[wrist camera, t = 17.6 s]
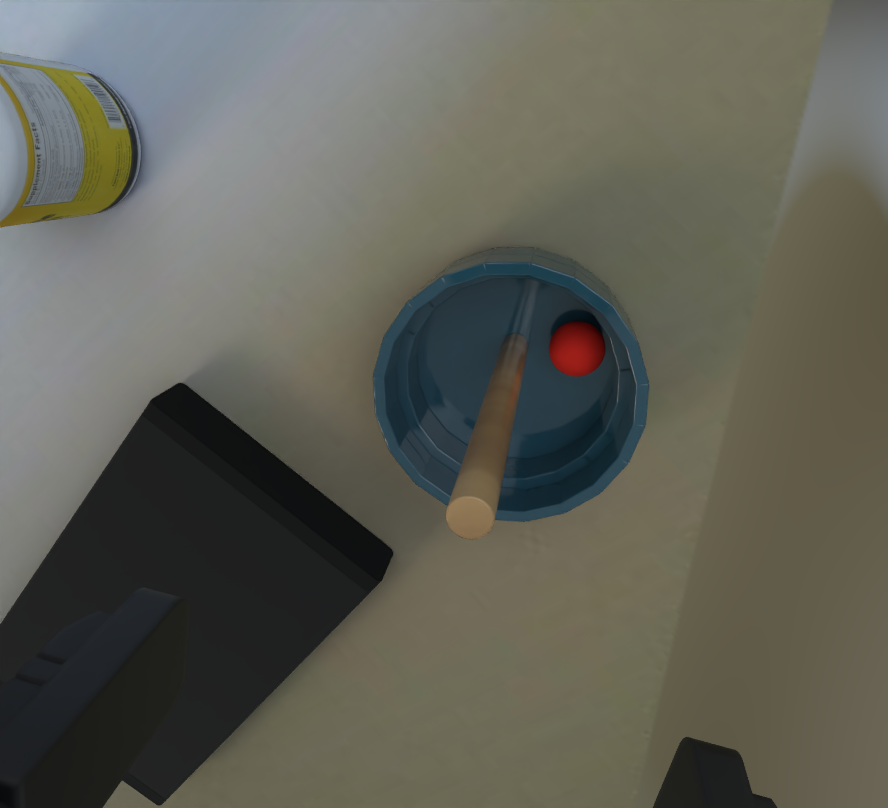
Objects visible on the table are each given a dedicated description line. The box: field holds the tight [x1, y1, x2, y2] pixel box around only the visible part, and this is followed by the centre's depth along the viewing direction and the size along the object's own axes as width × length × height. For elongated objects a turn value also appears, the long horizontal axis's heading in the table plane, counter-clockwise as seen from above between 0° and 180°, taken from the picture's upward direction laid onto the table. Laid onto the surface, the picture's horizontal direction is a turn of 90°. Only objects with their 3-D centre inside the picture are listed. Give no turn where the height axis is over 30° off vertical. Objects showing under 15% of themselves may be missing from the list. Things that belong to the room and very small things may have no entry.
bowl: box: [373, 247, 649, 522], centre depth 30 cm, size 11×11×5 cm
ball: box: [549, 321, 606, 376], centre depth 30 cm, size 2×2×2 cm
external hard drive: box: [0, 383, 393, 805], centre depth 39 cm, size 14×23×3 cm, turn 141°
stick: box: [446, 334, 528, 539], centre depth 24 cm, size 1×1×16 cm
